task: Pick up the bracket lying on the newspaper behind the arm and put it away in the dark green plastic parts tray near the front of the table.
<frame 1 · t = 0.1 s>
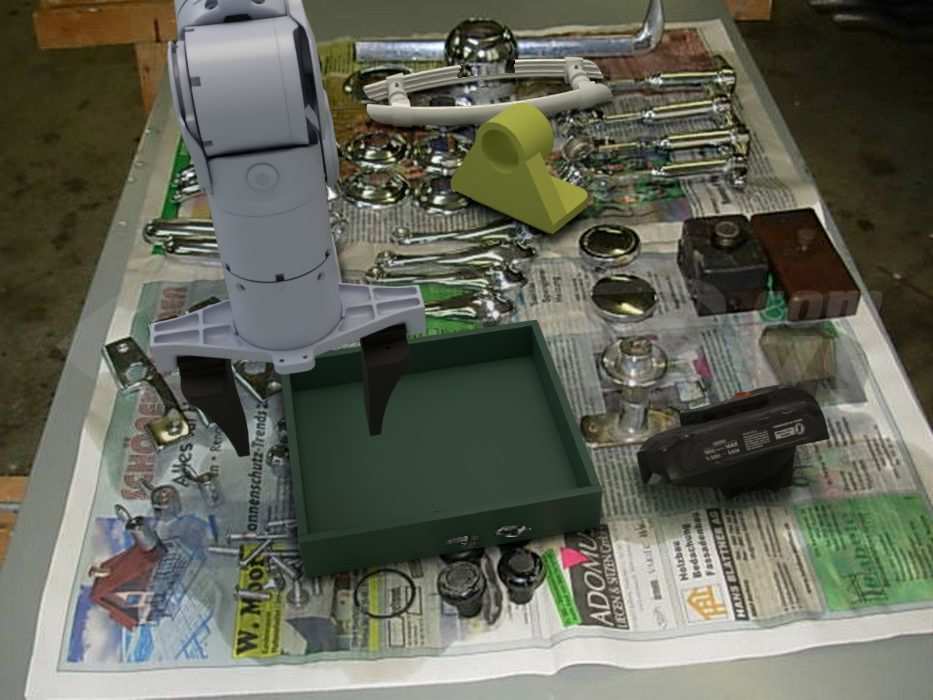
hand: (308, 433, 65), 10 cm above the workbench, tool pointing down, fingers open, 7 cm apart
battery: (722, 476, 76), on the workbench
parts tray: (432, 456, 78), on the workbench
bracket: (521, 209, 100), on the workbench
door handle: (487, 104, 114), on the workbench
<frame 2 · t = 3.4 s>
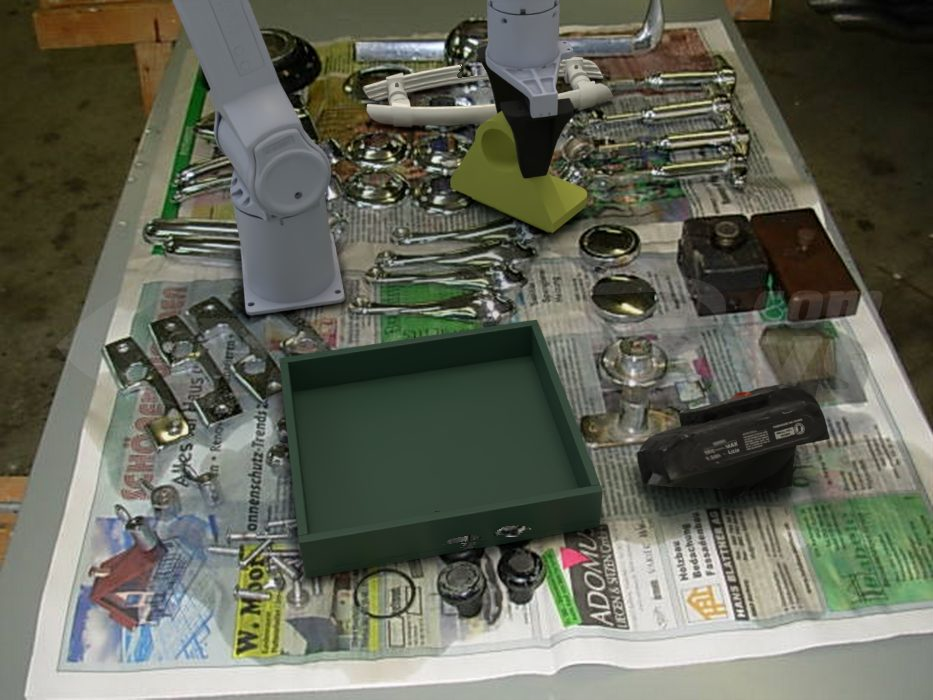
hand: (523, 149, 96), 6 cm above the workbench, tool pointing down, fingers open, 7 cm apart
bracket: (520, 208, 100), on the workbench, touching gripper
everything else where it was.
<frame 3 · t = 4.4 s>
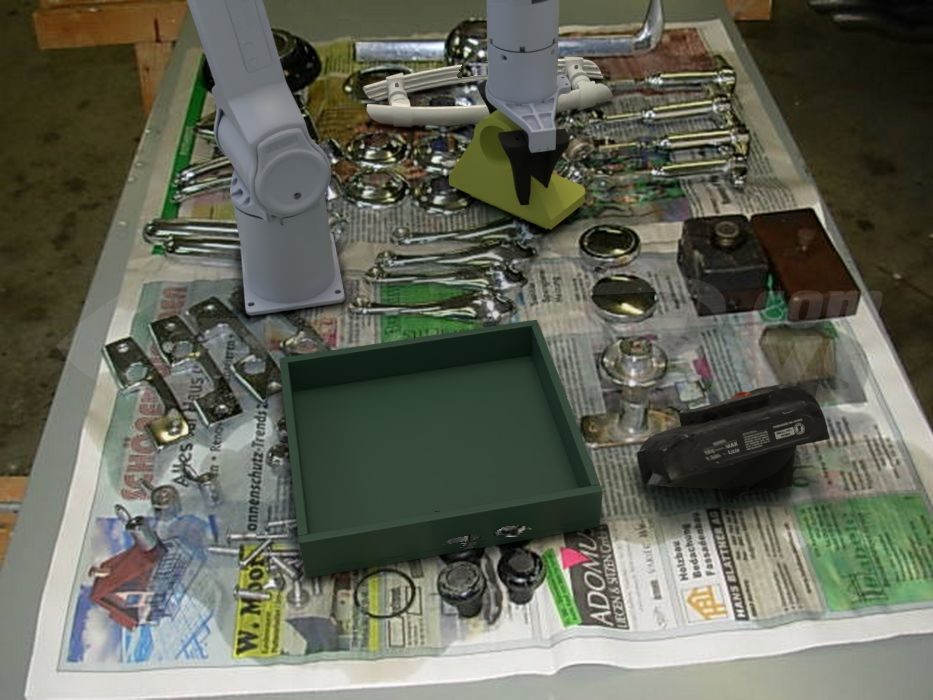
hand: (521, 180, 98), 3 cm above the workbench, tool pointing down, fingers closed on bracket, 6 cm apart
bracket: (519, 205, 100), on the workbench, touching gripper
everything else where it was.
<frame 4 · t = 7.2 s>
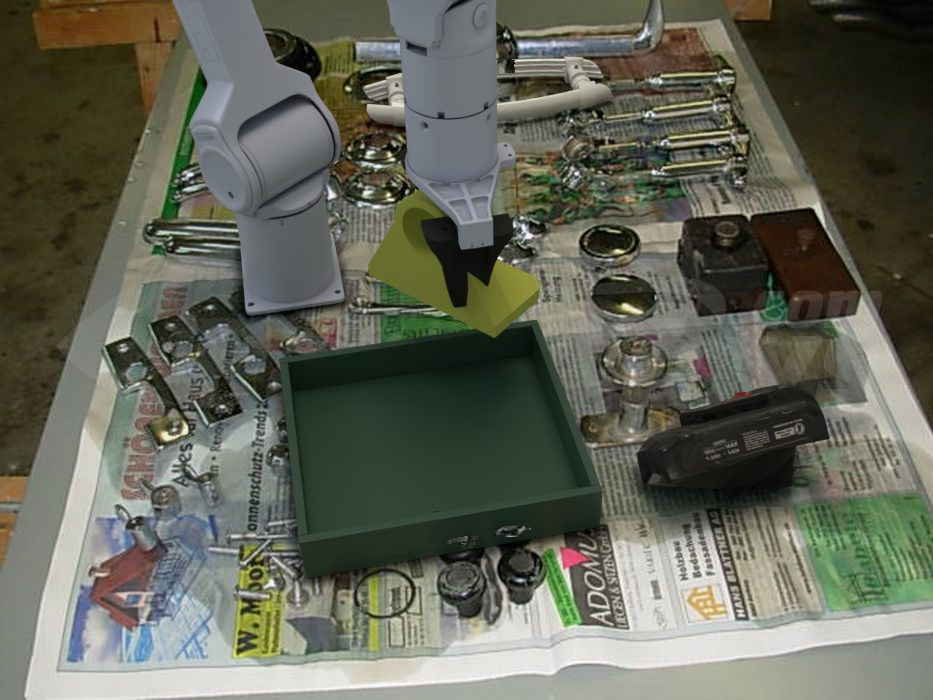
hand: (457, 272, 77), 10 cm above the workbench, tool pointing down, fingers closed on bracket, 6 cm apart
bracket: (457, 300, 79), point 7 cm above the workbench, touching gripper
everything else where it was.
when the fingers open (3 cm above the workbench, at t = 10.4 s): bracket stays where it is, resting on parts tray.
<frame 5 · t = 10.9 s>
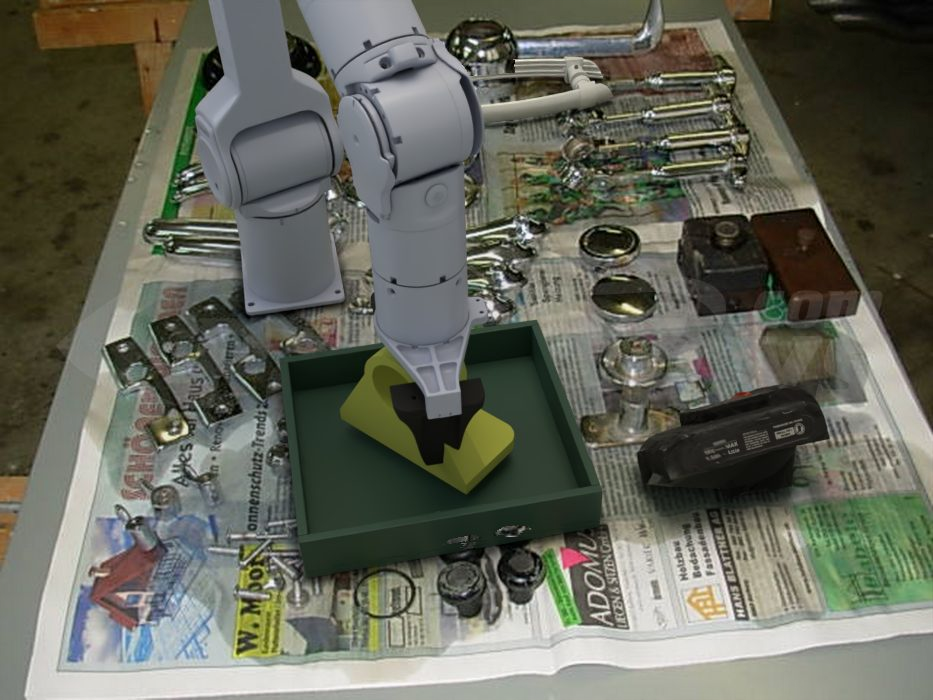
hand: (429, 418, 75), 4 cm above the workbench, tool pointing down, fingers open, 7 cm apart
bracket: (431, 445, 78), resting on parts tray
everything else where it was.
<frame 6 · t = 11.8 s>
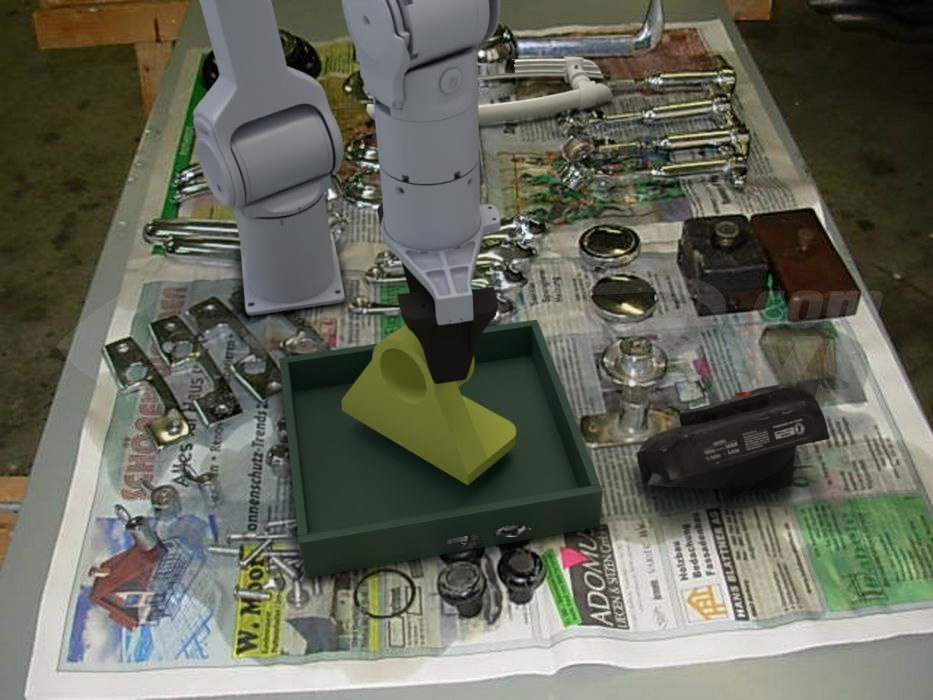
hand: (439, 337, 72), 10 cm above the workbench, tool pointing down, fingers open, 7 cm apart
bracket: (431, 441, 78), point 1 cm above the workbench, touching gripper, parts tray
everything else where it was.
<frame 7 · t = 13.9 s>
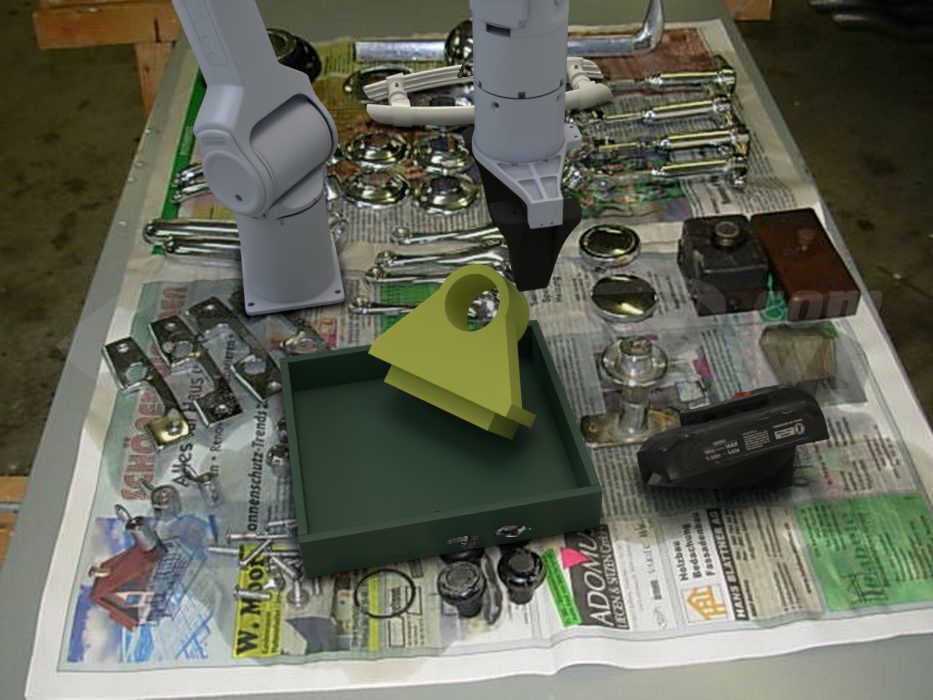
hand: (518, 253, 77), 10 cm above the workbench, tool pointing down, fingers open, 7 cm apart
bracket: (443, 411, 77), point 3 cm above the workbench, touching gripper, parts tray
everything else where it was.
at the end: bracket inside the target area in the parts tray (1.8 cm from its centre), point 2.8 cm above the parts tray's base; the gripper is holding nothing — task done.
